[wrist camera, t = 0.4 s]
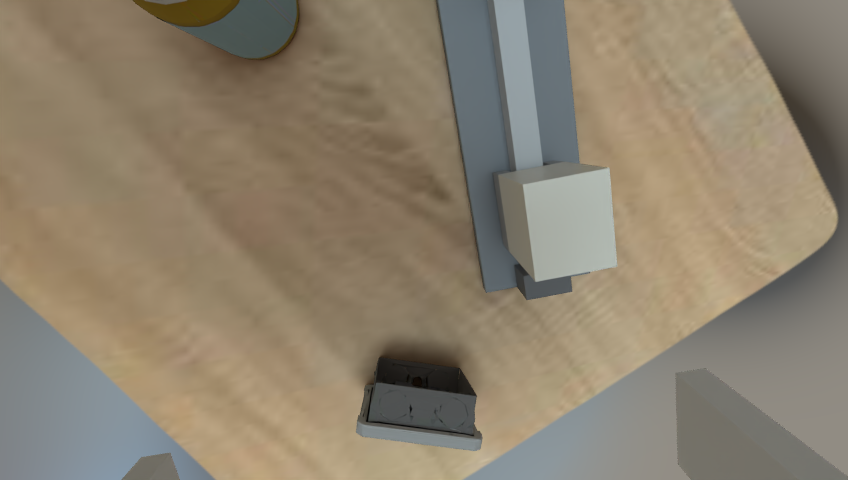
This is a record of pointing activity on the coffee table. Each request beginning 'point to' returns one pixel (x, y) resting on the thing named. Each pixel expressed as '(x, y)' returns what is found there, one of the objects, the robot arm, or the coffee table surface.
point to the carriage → (557, 218)
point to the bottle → (232, 23)
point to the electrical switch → (420, 406)
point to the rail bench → (488, 112)
